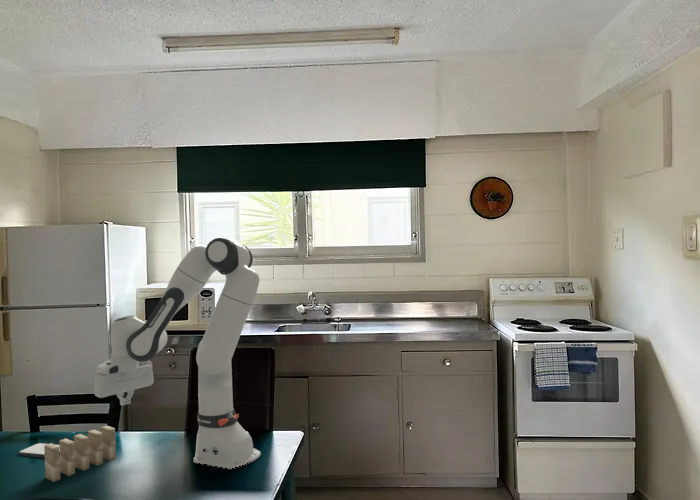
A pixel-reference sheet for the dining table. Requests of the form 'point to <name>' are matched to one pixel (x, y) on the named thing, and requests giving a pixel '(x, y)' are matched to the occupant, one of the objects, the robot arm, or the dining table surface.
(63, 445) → the tile
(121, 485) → the dining table surface
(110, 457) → the tan rectangular block
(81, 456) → the tile
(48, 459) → the tile
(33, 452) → the smartphone
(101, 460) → the light brown wooden block
